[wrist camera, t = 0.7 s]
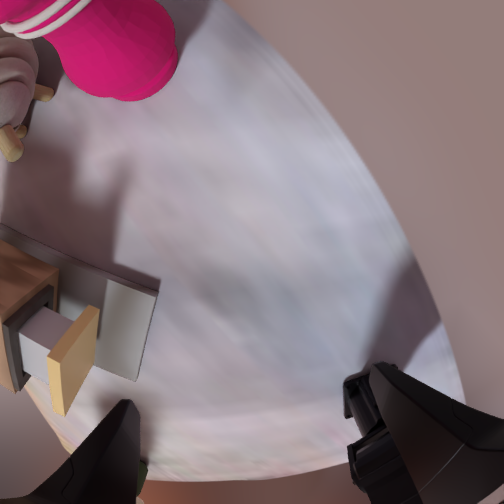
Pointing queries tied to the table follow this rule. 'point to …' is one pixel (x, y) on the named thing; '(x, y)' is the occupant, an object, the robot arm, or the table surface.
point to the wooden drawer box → (69, 305)
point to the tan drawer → (59, 352)
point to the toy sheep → (17, 91)
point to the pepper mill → (102, 42)
